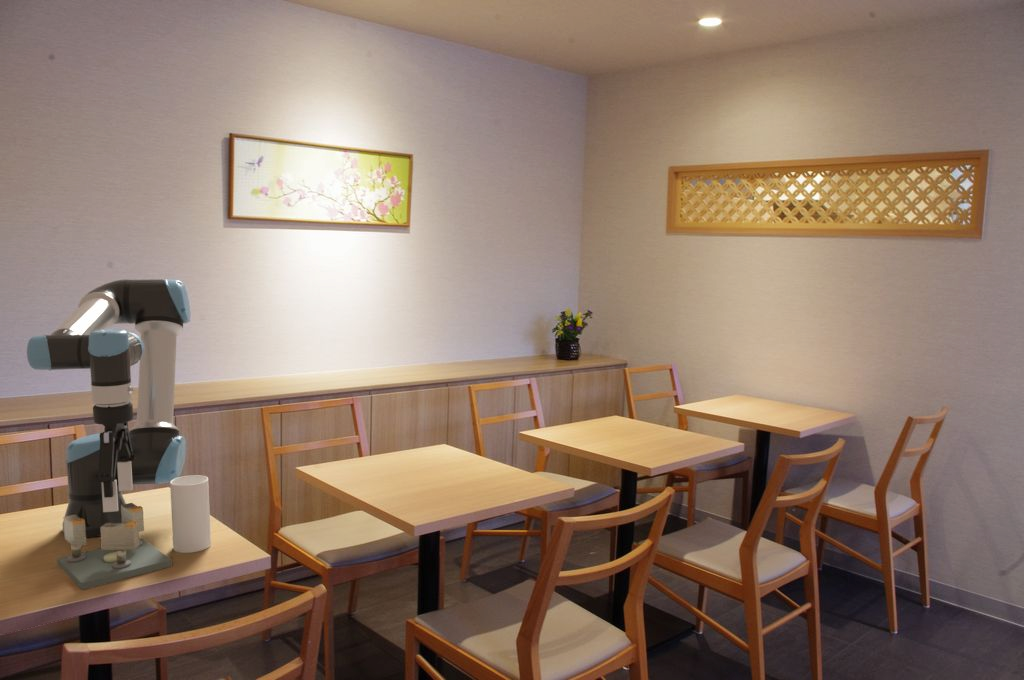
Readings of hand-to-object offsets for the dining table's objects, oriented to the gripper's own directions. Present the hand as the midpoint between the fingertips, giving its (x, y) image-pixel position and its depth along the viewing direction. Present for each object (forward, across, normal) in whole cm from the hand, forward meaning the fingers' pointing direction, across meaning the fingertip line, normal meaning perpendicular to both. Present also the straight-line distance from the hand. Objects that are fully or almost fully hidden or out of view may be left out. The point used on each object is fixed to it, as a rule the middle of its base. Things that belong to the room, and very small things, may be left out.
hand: (118, 500), depth 170 cm
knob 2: (+14, +11, 0) cm, 18 cm away
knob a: (+14, +5, +10) cm, 19 cm away
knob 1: (+14, -1, 0) cm, 14 cm away
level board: (+16, +4, +2) cm, 16 cm away
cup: (+16, +12, -12) cm, 24 cm away
